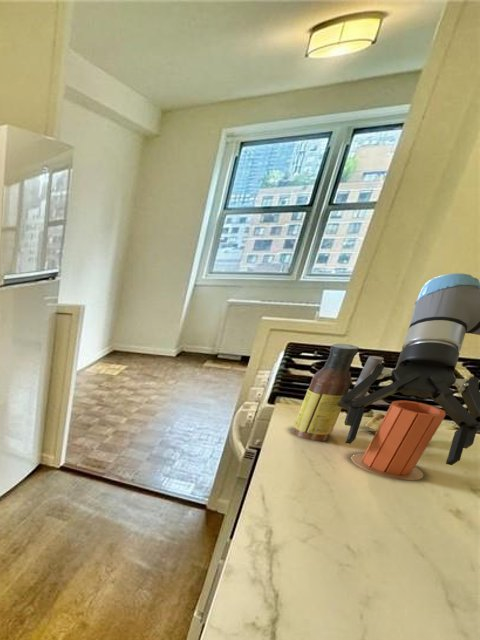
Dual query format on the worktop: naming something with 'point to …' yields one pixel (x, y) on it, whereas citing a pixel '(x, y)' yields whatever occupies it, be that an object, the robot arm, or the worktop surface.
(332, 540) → the worktop surface
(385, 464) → the orange grooved cup
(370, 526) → the worktop surface
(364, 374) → the post stand
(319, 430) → the sauce bottle
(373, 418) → the pastry
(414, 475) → the cork coaster
